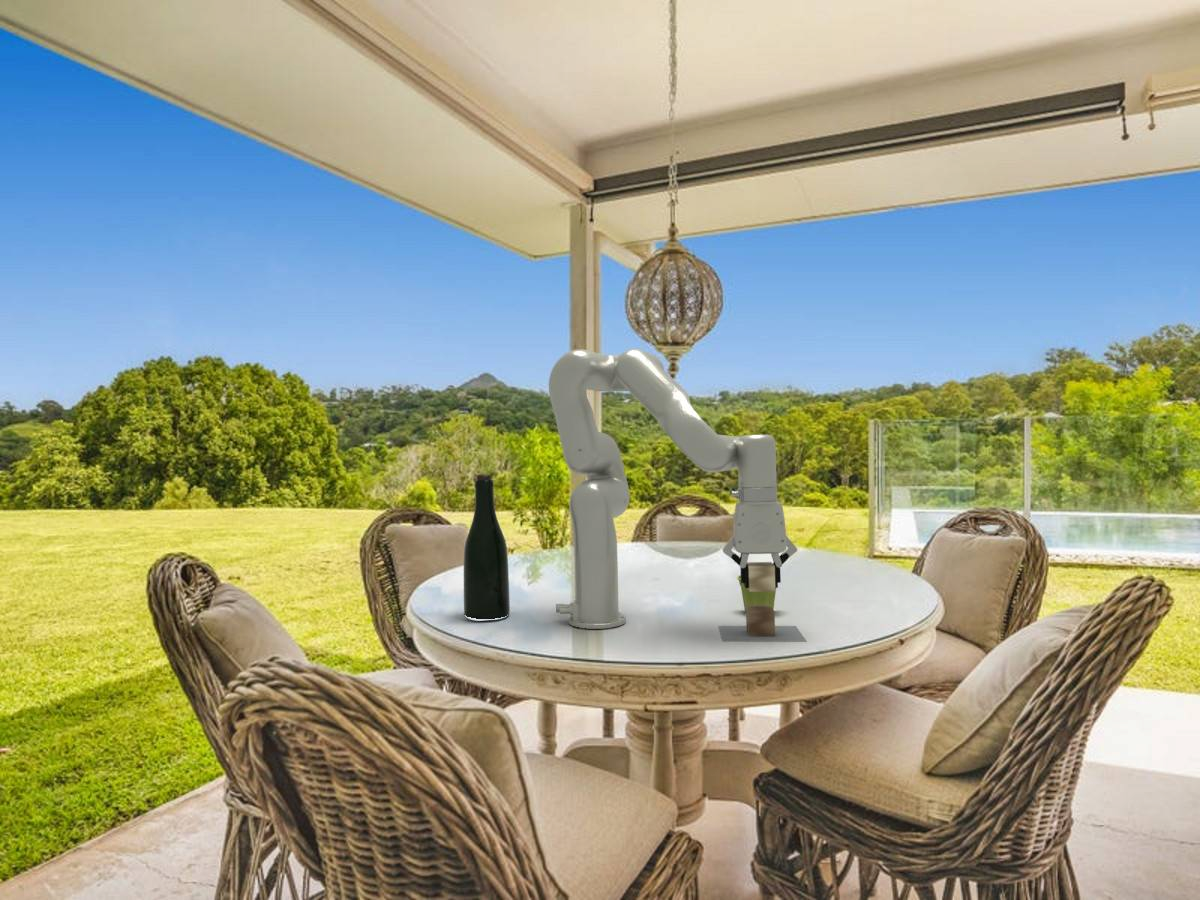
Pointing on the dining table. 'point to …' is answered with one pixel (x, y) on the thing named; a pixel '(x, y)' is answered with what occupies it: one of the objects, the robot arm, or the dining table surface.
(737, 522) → the robot arm
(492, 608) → the dark wine bottle
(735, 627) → the mat
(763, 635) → the walnut block
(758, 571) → the maple block
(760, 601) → the plant pot
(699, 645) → the dining table surface
